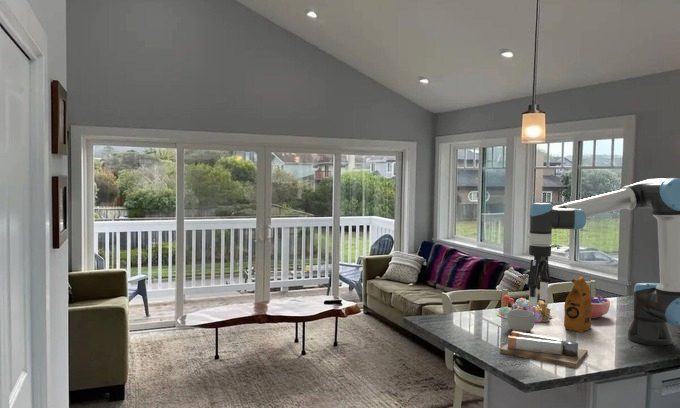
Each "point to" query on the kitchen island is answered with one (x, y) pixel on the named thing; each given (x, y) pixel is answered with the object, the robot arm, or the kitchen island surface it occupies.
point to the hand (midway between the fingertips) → (538, 302)
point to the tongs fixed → (566, 346)
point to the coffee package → (578, 307)
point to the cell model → (599, 306)
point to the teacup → (520, 320)
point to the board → (547, 356)
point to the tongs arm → (534, 345)
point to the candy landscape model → (525, 308)
